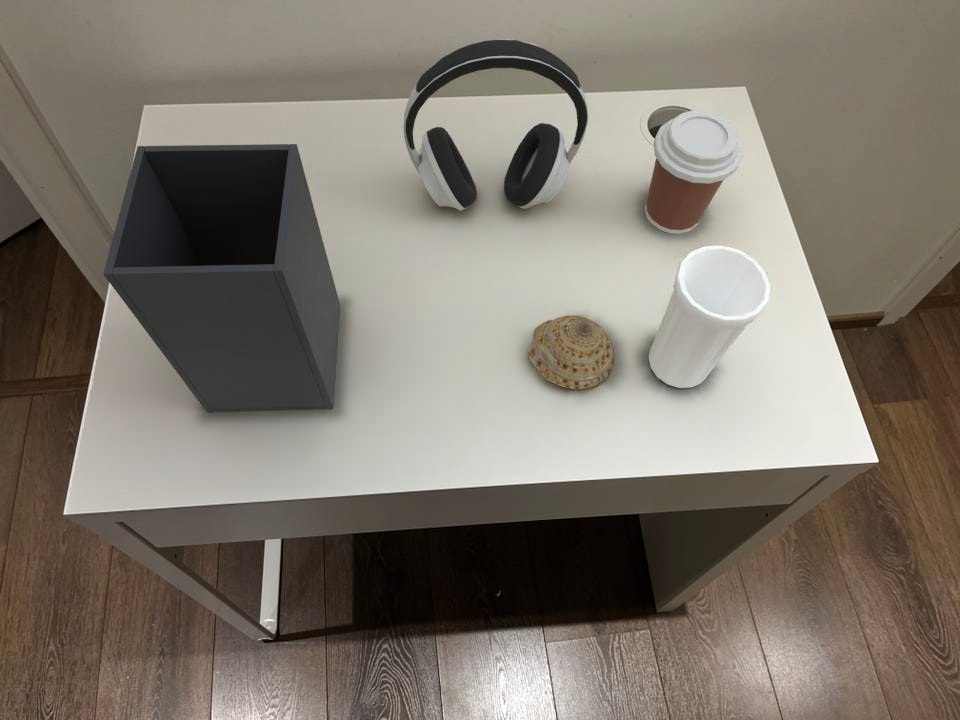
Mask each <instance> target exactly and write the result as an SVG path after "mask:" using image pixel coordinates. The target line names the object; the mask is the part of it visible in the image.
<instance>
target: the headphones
mask: <svg viewBox="0 0 960 720" xmlns="http://www.w3.org/2000/svg"><path fill="white" fill-rule="evenodd" d="M490 69H515V70H522V71H526V72H532V73H535V74H537V75H538V76H542V77H544V78H546V79H547V80H550V81H552V82H553V83H554V84H555V85H557V86H558V88H560V89H562V90H563V91H564V92H565V93H566V94H567V95H568V97H569V98H570V100H571V101H572V103H573V105H574V108H575V111H576V112H575V113H576V123H577V124H576V130H575V135H574V139H573V142H572V143H571V145H570V147H569V149H568V151H567V149H566V146H565V137H564V136H565V135H564V133H563V132H562V131H561V130H560V129H559V128H558V127H556V126H554V125H553V124H551V123H544V122H540V123H538V124H536V125H533V127H532V128H531V129H530V130H528V132H527V133H526V134H525V135H524V137H523V138H522V140H521V141H520V143H519V144H518V146H517V147H516V150H515V152H514V154H513V155H512V158H511V160H510V163H509V165H508V167H507V170H506V173H505V175H504V182H503V192H504V196H505V197H506V198H507V200H508V201H509V202H510V203H511V204H512V205H514V206H515V207H516V208H520V209H530V208H531V207H534V206H535V205H537V204H545V203H550V202H551V201H552V200H553V199H554V198H556V196H557V195H558V194H559V192H560V191H561V189H562V188H563V186H564V184H565V182H566V179H567V176H568V175H569V169H570V164H571V163H572V161H573V160H574V159H575V156H576V155H577V153H578V151H579V149H580V147H581V145H582V143H583V141H584V138H585V135H586V131H587V128H588V123H589V122H588V121H589V110H588V109H589V107H588V102H587V97H586V95H585V93H584V91H583V88H582V87H581V83H580V81H579V77H578V74H576V73H575V72H574V70H573V69H572V67H570V66H569V65H568V64H567V63H566V62H564V61H563V60H562V59H561V58H560V57H559V56H557V55H556V54H554V53H552V52H550V51H549V50H548V49H546V48H544V47H541V46H539V45H537V44H535V43H532V42H527V41H522V40H518V39H512V38H508V39H507V38H504V39H503V38H500V39H497V38H496V39H486V40H480V41H476V42H473V43H470V44H467V45H464V46H461V47H459V48H457V49H455V50H453V51H451V52H449V53H447V54H445V56H443V57H442V58H440V59H439V60H438V61H436V62H435V63H434V64H432V65H431V66H430V67H429V68H428V69H427V70H426V71H425V72H424V73H422V74H421V75H420V77H419V79H418V81H417V82H416V84H415V85H414V87H413V89H412V90H411V93H410V94H409V97H408V100H407V101H406V102H407V103H406V106H405V109H404V114H403V138H404V143H405V146H406V149H407V152H408V156H409V158H410V161H411V163H412V164H413V166H414V168H415V170H416V171H417V173H418V174H419V176H420V179H421V182H422V183H423V186H424V187H425V189H426V191H427V193H428V194H429V196H430V197H431V199H432V200H433V201H434V203H435V204H436V205H438V206H439V207H450V208H454V209H456V210H458V211H464V210H466V209H468V208H469V207H470V206H471V205H473V204H474V203H475V201H476V200H477V197H478V190H477V186H476V183H475V181H474V178H473V176H472V174H471V172H470V170H469V169H468V166H467V164H466V162H465V160H464V158H463V156H462V154H461V153H460V150H459V149H458V147H457V146H456V143H455V142H454V140H453V138H452V137H451V135H450V133H449V132H448V131H447V130H446V128H445V127H442V126H435V127H431V128H430V129H429V130H427V131H426V132H424V133H423V134H422V138H421V145H420V148H419V150H418V151H417V149H416V147H415V141H414V128H415V122H416V119H417V116H418V114H419V111H420V110H421V108H422V107H423V106H424V104H425V103H426V102H427V101H428V99H429V98H430V97H431V96H433V95H434V94H435V93H436V92H437V91H439V90H440V89H441V88H443V87H445V86H446V85H448V84H449V83H450V82H452V81H454V80H456V79H458V78H460V77H462V76H466V75H468V74H472V73H475V72H479V71H486V70H490Z"/></svg>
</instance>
